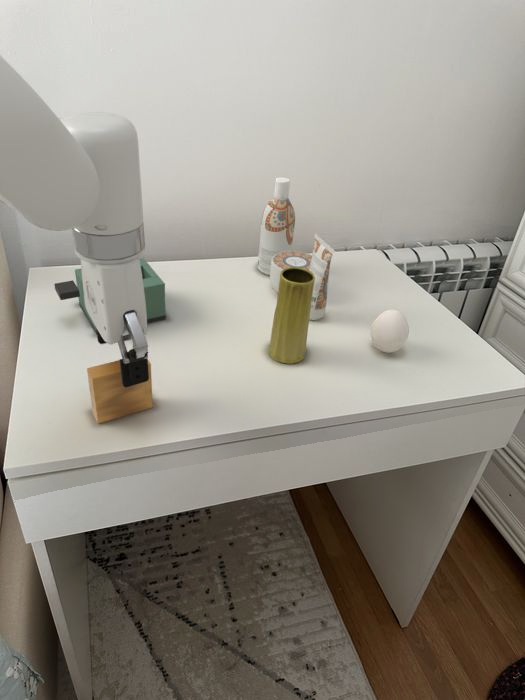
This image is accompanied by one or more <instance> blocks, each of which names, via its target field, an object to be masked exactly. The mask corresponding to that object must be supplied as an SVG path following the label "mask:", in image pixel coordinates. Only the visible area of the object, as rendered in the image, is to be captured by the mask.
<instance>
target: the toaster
mask: <svg viewBox="0 0 525 700" xmlns="http://www.w3.org/2000/svg"><path fill="white" fill-rule="evenodd" d="M139 260H140V266H141V272H142V279H143V286H144V294H145V303H146V313H147V324H151V323H154V322H155V323H156V322H160V321H163V320H166V319H167V315H166V314H167V313H166V283H165V282H164V281H163V279H162V278H161V277H160V276H159V275H158V273H156V271H155V270H154V269H153V268H152V266H151V265H150V264H149V262H148V261H146V260H145V258H143V257H142V258H139ZM74 274H75V281H76V282H75V284H76V286H77V288H78V289H79V293H80V297H77V298H78V305H79V307H80V309H81V310H82V312H83V314H84V316H85V317H86V319H87V321H88V323H89V324H90V326H91V328H92V330H93V331H94V333H95V335H96V336H97V331H96V326H95V325H94V323H93V321H92V319H91V318H90V316H89V314H88V312H87V310H86V306H85V301H84V291H83V281H82V271H81V268H76V269H74Z"/></svg>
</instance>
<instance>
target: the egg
mask: <svg viewBox="0 0 525 700" xmlns="http://www.w3.org/2000/svg"><path fill="white" fill-rule="evenodd" d="M409 332H410V327H409V323H408V320H407V318H406V316H405V314H403V312H401V311H400V310H397V309H386V310H385V311H383V312H381V313H380V314H379V315H378V316H377V317H376V318H375V319H374V321H373V322H372V325H371V328H370V339H371V341H372V344H373V345H374V347H375V348H376V349H377V350H379V351H381V352H383V353H395V352H397V351H399V350H400V349H402V348H403V347H404V345H405V344H406V343H407V341H408V338H409Z"/></svg>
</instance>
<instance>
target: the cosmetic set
mask: <svg viewBox="0 0 525 700" xmlns="http://www.w3.org/2000/svg"><path fill="white" fill-rule="evenodd" d="M290 185H291V180H290V179H289V178H287V177H283V176H281V177H276V178H275V180H274V189H273V190H274V192H273V196H272V198H271V199H270V200H269V202H268V203H267V204H266V206H265V207H264V209H263V211H262V216H261V225H260V235H259V246H258V255H257V269H258V270H259V272H261V273H263V274H264V275H268V276H269V282H270V286H271V287H272V289H273V290H274V291H275V292H276V293H277V294H278V289H279V281H280V273H281V271H282V270H284V269H286V268H290V267H300V268H304V269H307V270H309V271H311V272H312V273H313V274H314V276H315V281H314V287H313V294H312V302H311V309H310V317H309V321H317V320H321V319H322V318H323V317H324V316H325V314H326V308H327V298H328V289H329V280H330V279H329V277H330V270H331V269H330V268H331V263H332V258H333V256H334V249H333V248H332V247H331V246H330V245H329V244H327V242H325V240H324V239H322V238H321V237H320V236H319V235H318V234H317V233H314V238H313V239H314V240H313V241H314V242H313V249H312V254H310V253H306V252H304V251H303V252H302V251H298V250H297V251H296V250H292V249H293V248H292V247H293V241H294V233H295V225H296V214H295V213H296V212H295V208H294V207H293V205H292V203H291V201H290V197H289V194H290Z"/></svg>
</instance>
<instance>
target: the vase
mask: <svg viewBox="0 0 525 700" xmlns="http://www.w3.org/2000/svg"><path fill="white" fill-rule="evenodd" d="M314 281H315V276H314V274H313V273H312V272H311V271H309V270H307V269H304V268H300V267H290V268H286V269H284V270H282V271H281V273H280V281H279V289H278V293H277V298H276V306H275V310H274V314H273V320H272V326H271V333H270V340H269V341H270V343H269V345H268V349H267V351H268V355H269V356H270V357H271V359H272V360H275V361H277V362H278V363H281V364H282V363H283V364H289V365H290V364H297V363H299V362H302V361H303V360H304V359H305V357H306V354H307V352H306V351H307V342H308V332H309V326H310V319H309V317H310V309H311V302H312V294H313V287H314Z"/></svg>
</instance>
